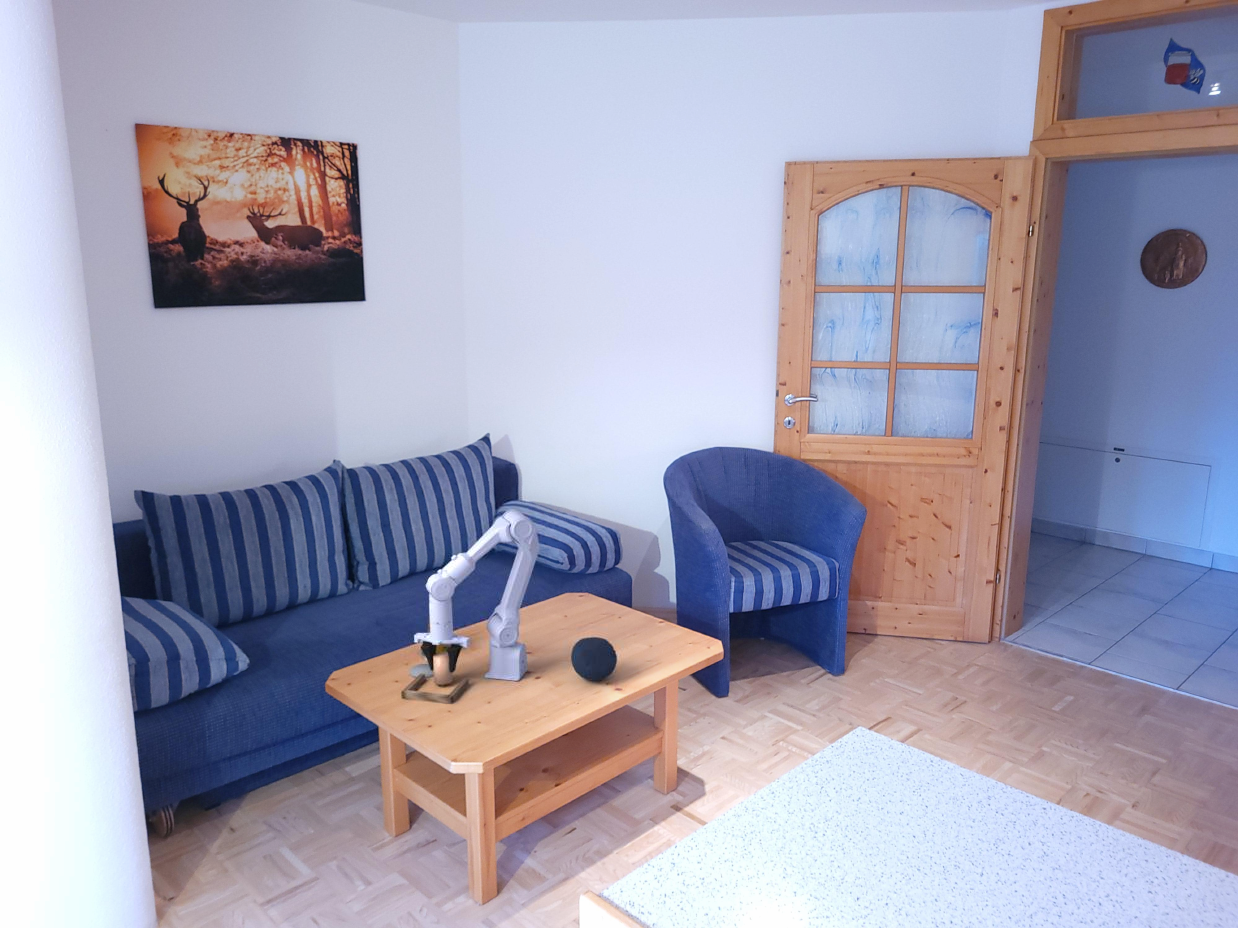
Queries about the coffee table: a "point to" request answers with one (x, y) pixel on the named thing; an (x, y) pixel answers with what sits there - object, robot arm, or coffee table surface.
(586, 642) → the decorative stone
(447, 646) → the condiment
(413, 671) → the coaster
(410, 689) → the holder
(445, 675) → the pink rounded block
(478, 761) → the coffee table surface
